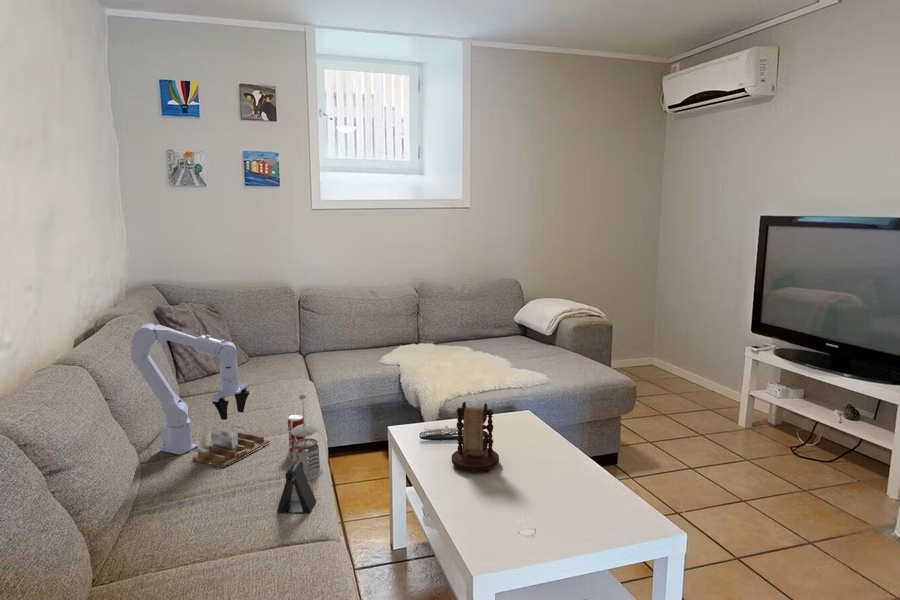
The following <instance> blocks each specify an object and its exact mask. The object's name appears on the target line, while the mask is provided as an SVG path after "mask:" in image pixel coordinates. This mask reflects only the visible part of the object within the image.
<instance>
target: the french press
mask: <svg viewBox="0 0 900 600" xmlns="http://www.w3.org/2000/svg"><path fill="white" fill-rule="evenodd" d="M298 398H299V399H300V400H301V401H302V404H304V399H306V398H307V396H306V394H305V393H301V394H300V395H299V397H298ZM302 413H303V414H302V416H303V419H304V420H305V411H304V406H302ZM318 431H319V427H318V426H316V425H313V424H311V423H310V424H309V423H304V424H302V425H299V426H297V427H295V428H294V429H292V430H291V434H292V435H294V436H298V437H303V436H305V439H301V440H297V441H296V442H295V440H294V439H293V440H294V443H293V446H294V447H293V454H292V459H291V455H290V446H289V445H288V446H289V447H288V454H287V455H288V459H289V461H290V462H291V463H292V464H293V463H294V462H295V461H296V463H295V465H294V468H295V466H296V465H297V464H298V462H299V461H300V462H302V463H303V471H304V474H305V476H306V478H307V481H311V480H315V479H317V478H320V477H322V475H323V474H324V469H323V468H322V467H321V464H320V448H319V447H320V446H319V445H318V440H317V439H315V438H309V437H308V436H312V435H314V434H316V433H317V432H318ZM307 437H308V438H307ZM293 440H292V441H293ZM291 443H292V442H291ZM291 443H290V445H291ZM294 450H305V452H294ZM306 450H307V451H306Z"/></svg>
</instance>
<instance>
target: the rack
mask: <svg viewBox="0 0 900 600" xmlns="http://www.w3.org/2000/svg"><path fill="white" fill-rule="evenodd" d="M237 438H238V451H239V452H237V453H235V451H232V450H228V449H223V448H219V447H214V446H212V445H209V446H207V448H208V449H207V450H205V451H203V450H198V451H197V455H194V456H193V457H192V461H194V460H196V461H195V462H198V461H201V462H200V463H202V462H206V463H211V464H215V465H219V466H223V467H225V468H227V467H228V466H227V465H229V464H230V463H232V462H234V461H236V460H238V459H240V458H242V457H244V456H245V455H247V454H249V453H251V452H253V451H254V450H256V449H258V448H260V447H261V446H263V445H265V444H267V443H269V442H270V440H265V437H264V436H263V435H258V434H252V433H249V432H247V433H246V432H242V431H238V432H237ZM270 443H271V442H270ZM244 458H245V457H244ZM242 459H243V458H242ZM240 460H241V459H240ZM206 463H205V464H206ZM211 464H210V465H211ZM215 465H214V466H215ZM219 466H218V467H219ZM226 466H227V467H226ZM229 466H230V465H229ZM223 467H222V468H223Z"/></svg>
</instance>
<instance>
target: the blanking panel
mask: <svg viewBox="0 0 900 600" xmlns="http://www.w3.org/2000/svg"><path fill="white" fill-rule="evenodd" d="M210 434H211V435H210V437H211V438H210V439H211V446H214V447H219V448H223V449H228V450H232V451H235V453H237V452H239V451H238V438H237V436H238V433H237V434H236V433H232V432H228V431H223V430H218V429H217V430H214V431H212V432H210Z"/></svg>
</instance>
